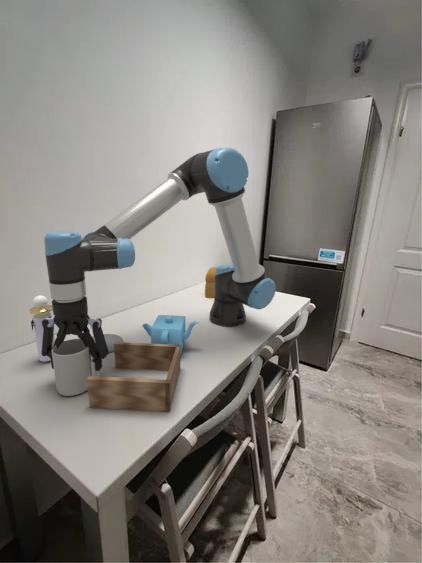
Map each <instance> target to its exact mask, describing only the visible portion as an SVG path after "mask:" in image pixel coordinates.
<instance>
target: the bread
mask: <svg viewBox="0 0 422 563" xmlns="http://www.w3.org/2000/svg"><path fill="white" fill-rule="evenodd" d="M217 267H218V266H213V267H210V268H209V269H208V270H207V273H206V275H205V285H204V296H205V298H207V299H213V298H214V294H215V271H216V268H217Z"/></svg>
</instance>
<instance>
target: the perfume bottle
mask: <svg viewBox="0 0 422 563" xmlns="http://www.w3.org/2000/svg"><path fill="white" fill-rule="evenodd" d="M48 303H49V300H48V298H47V297H46V296H45V295H42V294H41V295H40V294H39V295H36V296H35V297H34V298H33V299H32V305H33V306H32V307H31V308H29V309H28V310H29V311H28V312H29V314H31V315H32V320H31V321H30V324H31V331H34V333H35V340H36V346H37V354H38V360H39V361H41V362H49V361H50V362H51V359H50V358H49V357H48V356H42V354H41V353H42V342H43V330H44V329H43V326H42V321H43V320H44V319H46V318H47V317H49V316H50V317H52V318H53V315H52V313H51V312H53V308H52V304H51V305H50V304H48ZM55 340H56V337H55V332H54V333H53V344H52V347H53V345H54V342H55Z"/></svg>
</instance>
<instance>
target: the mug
mask: <svg viewBox="0 0 422 563" xmlns="http://www.w3.org/2000/svg"><path fill="white" fill-rule="evenodd" d="M52 358H53V366H54V369H53V371H54V372H53V373H54V379H55V388H56V392H57V393H58V394H59V395H61V396H64V397H65V396H66V397H71V396H73V397H74V396H76V395H81V394H83V393H85V392H88V386H87V378H88V377H89V376H92V372H91V360H92V356H91V354H90V353H89V347H87V348H86V346H85V345H84V343H83V341H82V340H81V339H79V338H71V339H67V340H64V341H63V342H62V344H61V345H60V346H59V348H58V349H57V346H56V345H55V346H54V347H53V349H52Z"/></svg>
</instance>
